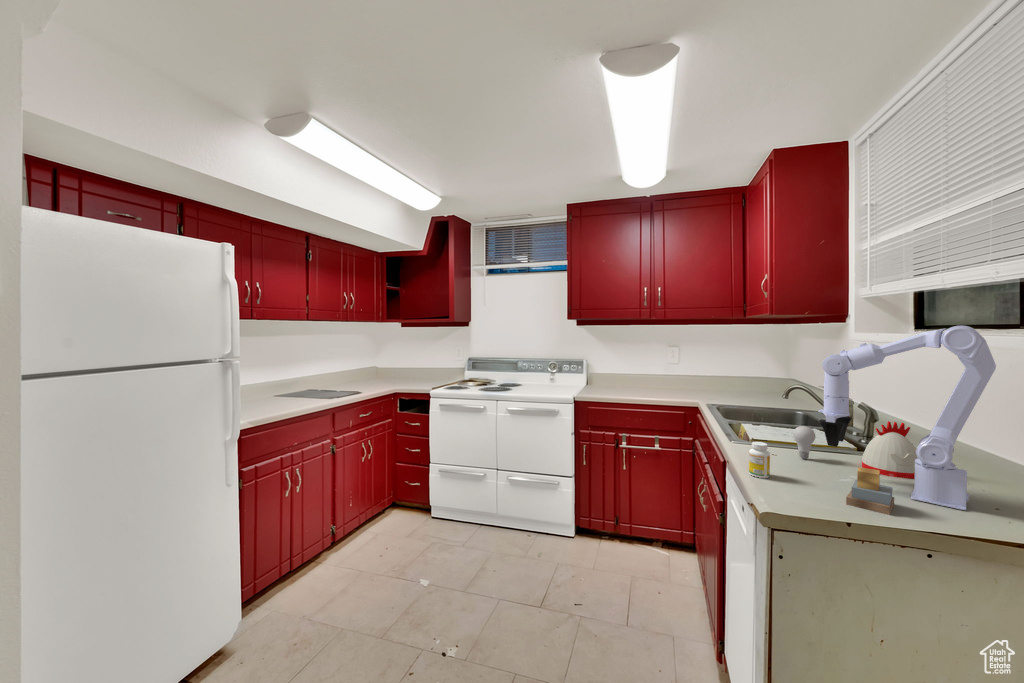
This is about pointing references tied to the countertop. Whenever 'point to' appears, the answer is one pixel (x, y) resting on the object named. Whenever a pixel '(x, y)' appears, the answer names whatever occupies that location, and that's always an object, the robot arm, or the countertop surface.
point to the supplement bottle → (759, 460)
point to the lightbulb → (804, 440)
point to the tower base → (869, 505)
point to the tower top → (873, 494)
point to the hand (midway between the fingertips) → (835, 443)
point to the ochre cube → (868, 478)
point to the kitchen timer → (891, 452)
